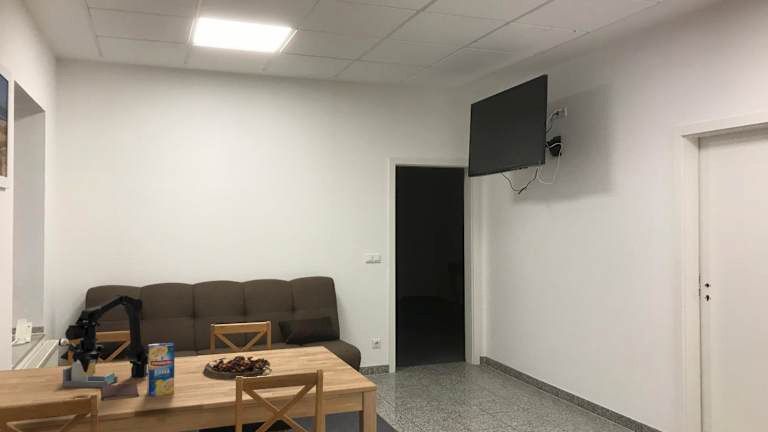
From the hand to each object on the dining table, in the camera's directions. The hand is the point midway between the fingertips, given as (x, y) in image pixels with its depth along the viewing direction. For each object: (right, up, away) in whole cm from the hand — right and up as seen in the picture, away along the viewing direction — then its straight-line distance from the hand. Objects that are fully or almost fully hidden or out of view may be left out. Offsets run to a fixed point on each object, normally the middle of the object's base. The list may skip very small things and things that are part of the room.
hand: (88, 370), depth 275 cm
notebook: (+15, -10, -2) cm, 19 cm away
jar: (0, -1, 0) cm, 1 cm away
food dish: (+59, -11, +38) cm, 71 cm away
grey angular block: (-10, -10, +11) cm, 18 cm away
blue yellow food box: (+34, -10, -3) cm, 36 cm away
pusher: (+4, -9, +11) cm, 15 cm away
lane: (-4, -9, +11) cm, 15 cm away
